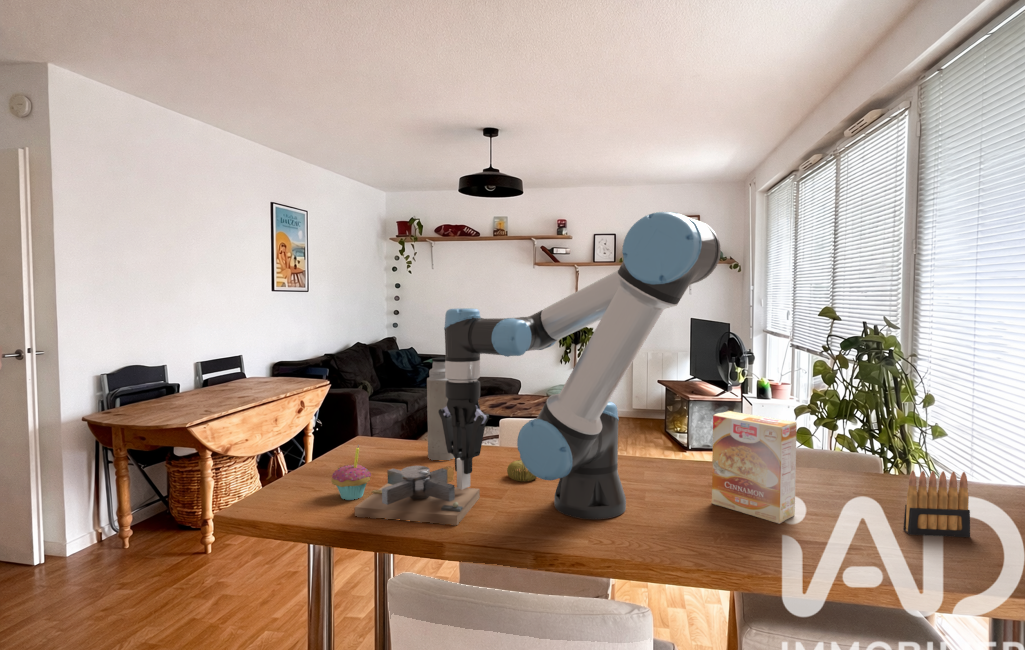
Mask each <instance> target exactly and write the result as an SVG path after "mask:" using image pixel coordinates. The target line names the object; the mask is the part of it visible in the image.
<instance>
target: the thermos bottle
mask: <svg viewBox="0 0 1025 650" xmlns="http://www.w3.org/2000/svg"><path fill="white" fill-rule="evenodd" d="M431 361H432V368H430V369H429V373H428V375H429V377H427V378H426V390H427V391H426V399H427V400H426V401H427V402H426V405H427V408H426V411H427V458H429V459H428V460H430V459H431V460H430V461H433V460H449V461H451V460H450V459H453V458H455V457H454V456H453V454H451V453H448V451H447V446H446V441H445V435H444V430H443V424H442V419H441V417H440V415H439V413H438V411H439V409H443V408H445V407H446V406H447V401H448V398H446V392H445V383H446V381H448V379H446V378H445V357H443V356H442V357H441V356H440V357H439V356H438V357H432V358H431ZM452 447H453V446H452ZM453 460H454V459H453Z"/></svg>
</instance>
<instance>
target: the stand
mask: <svg viewBox="0 0 1025 650" xmlns="http://www.w3.org/2000/svg"><path fill="white" fill-rule="evenodd" d="M388 486H391V484H388V482H387V483H385V484H384V485H382V486H381V487H380V488H379V489H373V490H372V491H371V493H372V494H371V495H369V496H368V497H367V498H365V499H363V500H362V501H361V502H359V503H358V504H357V505H356V506H354V517H355V516H357V517H356V518H365V517H368V519H376V518H386V519H385V520H388V519H400V520H410V521H420V522H419V523H422V522H430V523H429V524H433V523H440V524H439V525H445V524H451V525H450V526H456V525H457V526H458V525H459V524H460V523H461V521H462V520H463V519H464V518H465V516H467V514H468V513H469V511H471V510H472V508H473V506H474V505H475V504H476V503H477V501H478V500H479V499H480V493H481V492H480V488H475V487H474V488H471V487H467V488H465V489H458V488H457V486H454V487H455V500H452V501H450V502H448V501H445V500H442V499H438V498H435V497H431V496H429V497H428V498H425V499H412V498H410V497H407V498H405V499H402V500H399V501H396V502H394V503H391V504H388V505H386V504H383V503H382V488H385V487H388ZM369 517H370V518H369ZM410 521H409V522H410ZM459 522H460V523H459Z"/></svg>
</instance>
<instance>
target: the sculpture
mask: <svg viewBox="0 0 1025 650" xmlns="http://www.w3.org/2000/svg"><path fill="white" fill-rule="evenodd" d="M506 470H507V475H508V477H509V478H510V479H511V480H513V481H516V482H531V481H534V480H535V479H537V478H538V477H536V476H535V475H533V474H532V473H531V472H530V471H529V470H528V469H527V468H526V467H525V465H524V464H523V462H522V460H521V459H519V460H514V461H512V462H510V463H509V465H508V466H507V469H506Z"/></svg>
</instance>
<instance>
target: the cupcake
mask: <svg viewBox="0 0 1025 650" xmlns="http://www.w3.org/2000/svg"><path fill="white" fill-rule="evenodd" d="M359 446H360V445H359V444H358V445H357V447H356V448H355V454H354V463H353V464H347V465H344V466H343V465H342V466H339V468H337V469H336V470H335V471H334V472H333V473H332V474H331V479H330V480H331V484H333V485H334V486H336V488H337V490H338V493H339V495H340V498H341V499H342V500H344V499H345V501H353V500H354V499H355V500H358V498H359V499H361V498H362V497H363V495H364V493H365V490H366V489H365V488H366V486H367V483H369V482H370V481H371V476H372V474H371V471H370V470H369V469H368V468H366V467H365V466H363V465H361V464H358V460H359V452H360V448H359ZM355 500H354V501H355Z"/></svg>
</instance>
